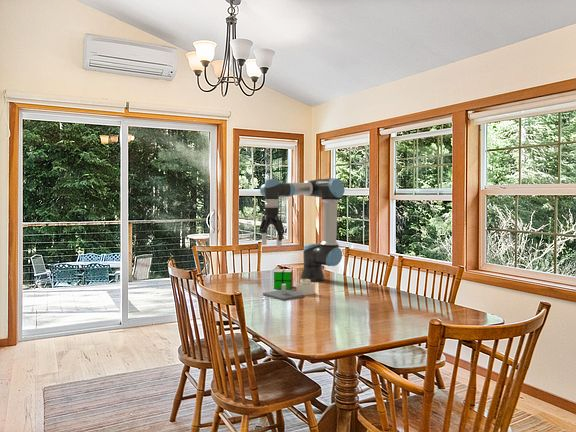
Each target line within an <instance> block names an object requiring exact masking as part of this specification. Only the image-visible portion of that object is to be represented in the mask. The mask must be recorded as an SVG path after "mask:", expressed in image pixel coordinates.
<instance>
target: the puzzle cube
mask: <svg viewBox="0 0 576 432" xmlns="http://www.w3.org/2000/svg"><path fill="white" fill-rule="evenodd" d="M273 280H274V281H273V289H274V290H282V284H286V290H291V289H293V286H294V270H293V269H280V268H279V269H275V271H274V272H273Z"/></svg>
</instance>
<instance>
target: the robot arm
mask: <svg viewBox="0 0 576 432" xmlns="http://www.w3.org/2000/svg"><path fill="white" fill-rule="evenodd" d="M259 192H260V195H261V196H263V197H264V206H265V207H264V214H265V215H262V219H261V222H260V225H259V229H258V232H260V233H261V245H262V246H266V245H267V242H268V241H267V240H268V239H267V237H268V236H267V231H268V228H269V226H270V225H272V226H274V229H275V231H276V233H277V234H276V248H280V247H282V240H283V234H286V231H285V229H284V224H283V222H282V216H280V215H279V205H280V204H279V203H280V202H279V200H280V199H279V198H280V197H288V198H289V197H293V196H305V197H315V198H321V201H322V203H323V212H322V213H323V216H322V241H321V242H320V243H311V244H310V243H309V244H308V243H307V244H305V245H304V246H303V267H302V272H301V275H300V280H301V279H310V280H311V282H322V281H324V280H325V275H324V272H323V267H322V266H328V267H336V266H337V265H339V264H340V263H341V261H342V259H343V251H342V249H341V248H340V247H339V246H340V244H339V243H338V242H337V232H338V230H337V229H338V203H339V202H340V201H341V198H342V197H343V196H344V194H345V185H344V183H343V182H342V180H341V179H339V178H317V179H313V180H305V181H304V182H279V179H278V178H267V179H265V181H264V184H262V185H260V188H259ZM278 215H279V216H278Z"/></svg>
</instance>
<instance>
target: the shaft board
mask: <svg viewBox="0 0 576 432" xmlns="http://www.w3.org/2000/svg"><path fill="white" fill-rule="evenodd" d="M262 296H265V297H268V298H272V299H275V300H279V301H289V300H296V299H301V298H305V297H306V295H305V294H301V293H297V291H296V292H295V291H292V290H289V289H286V284H282V289H278V290H273V291H266V292H262Z"/></svg>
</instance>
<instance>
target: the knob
mask: <svg viewBox="0 0 576 432" xmlns="http://www.w3.org/2000/svg"><path fill="white" fill-rule="evenodd" d="M299 280H300V283H296V293H301V294H305V296H310V295H314V294H315V283H314V282H312V281H311V280H310V279H301V278H300V279H299Z"/></svg>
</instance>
